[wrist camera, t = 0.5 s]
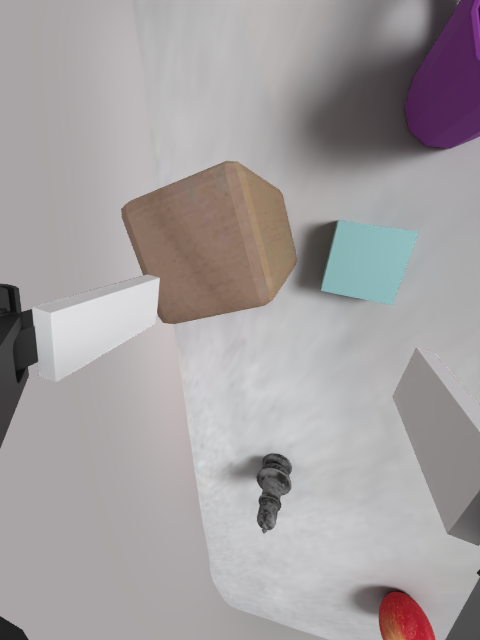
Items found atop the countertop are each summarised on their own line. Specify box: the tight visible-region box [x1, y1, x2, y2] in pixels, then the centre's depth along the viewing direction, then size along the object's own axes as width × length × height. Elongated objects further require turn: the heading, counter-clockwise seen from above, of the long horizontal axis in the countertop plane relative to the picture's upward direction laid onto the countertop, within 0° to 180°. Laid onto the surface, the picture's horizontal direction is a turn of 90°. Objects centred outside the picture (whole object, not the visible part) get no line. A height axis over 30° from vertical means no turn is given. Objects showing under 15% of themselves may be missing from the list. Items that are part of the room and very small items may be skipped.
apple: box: [379, 592, 435, 640], centre depth 48 cm, size 8×8×10 cm
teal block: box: [321, 220, 419, 305], centre depth 33 cm, size 8×8×5 cm
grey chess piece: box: [257, 454, 292, 533], centre depth 44 cm, size 6×6×12 cm
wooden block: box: [121, 161, 297, 324], centre depth 29 cm, size 10×10×20 cm
